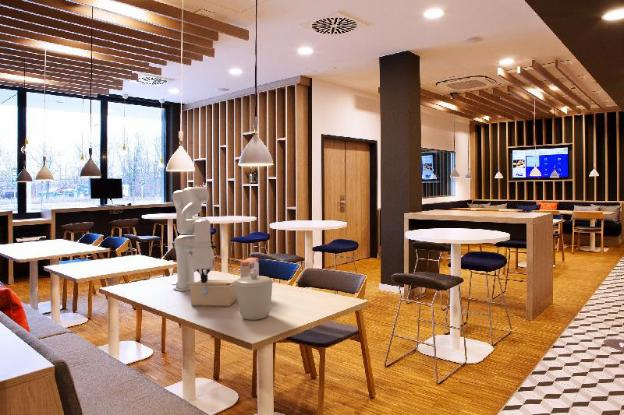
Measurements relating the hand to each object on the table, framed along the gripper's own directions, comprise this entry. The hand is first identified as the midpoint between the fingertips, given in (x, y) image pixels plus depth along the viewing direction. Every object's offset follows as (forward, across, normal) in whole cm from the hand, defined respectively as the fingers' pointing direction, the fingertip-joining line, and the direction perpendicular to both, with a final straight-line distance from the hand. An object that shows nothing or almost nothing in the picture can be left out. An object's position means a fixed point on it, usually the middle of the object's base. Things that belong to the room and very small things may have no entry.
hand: (204, 282), depth 221 cm
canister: (+14, +28, -9) cm, 33 cm away
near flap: (+1, 0, +3) cm, 4 cm away
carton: (+14, 0, +12) cm, 19 cm away
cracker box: (+14, +16, +23) cm, 31 cm away
